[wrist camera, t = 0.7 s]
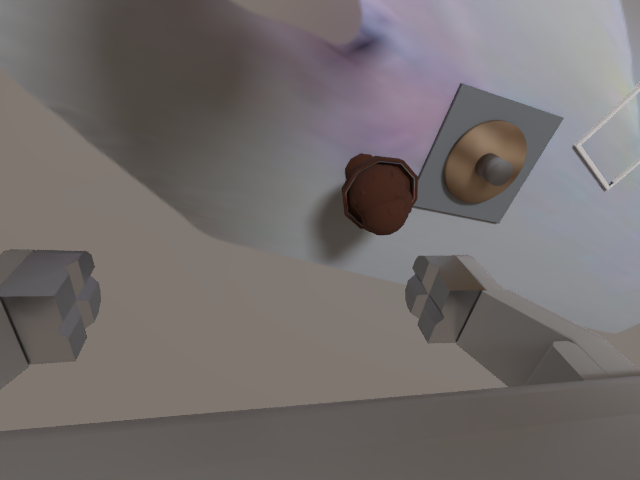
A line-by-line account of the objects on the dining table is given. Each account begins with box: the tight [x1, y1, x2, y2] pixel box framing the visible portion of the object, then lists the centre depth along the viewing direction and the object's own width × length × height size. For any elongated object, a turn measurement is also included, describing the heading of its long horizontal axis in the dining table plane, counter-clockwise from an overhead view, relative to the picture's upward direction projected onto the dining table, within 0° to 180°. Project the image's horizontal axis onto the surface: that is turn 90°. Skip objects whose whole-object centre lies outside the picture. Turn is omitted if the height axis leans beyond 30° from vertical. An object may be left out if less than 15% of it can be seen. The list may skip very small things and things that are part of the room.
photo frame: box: [574, 82, 640, 190], centre depth 62 cm, size 15×1×18 cm
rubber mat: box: [413, 83, 563, 223], centre depth 59 cm, size 20×20×1 cm
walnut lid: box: [444, 120, 527, 203], centre depth 57 cm, size 14×14×5 cm
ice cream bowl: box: [342, 154, 418, 235], centre depth 50 cm, size 11×11×15 cm
